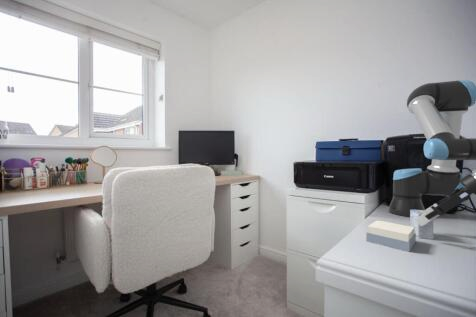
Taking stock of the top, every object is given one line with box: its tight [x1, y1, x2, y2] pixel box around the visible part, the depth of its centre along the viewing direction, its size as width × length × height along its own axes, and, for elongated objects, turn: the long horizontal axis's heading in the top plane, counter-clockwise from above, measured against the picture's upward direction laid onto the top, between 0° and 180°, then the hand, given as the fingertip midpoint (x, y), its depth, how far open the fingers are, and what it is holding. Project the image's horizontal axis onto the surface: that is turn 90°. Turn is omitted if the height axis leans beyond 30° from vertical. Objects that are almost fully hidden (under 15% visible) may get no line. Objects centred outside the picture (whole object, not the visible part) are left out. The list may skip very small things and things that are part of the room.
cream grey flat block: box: [365, 220, 417, 252], centre depth 74 cm, size 12×12×5 cm
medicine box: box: [409, 210, 434, 240], centre depth 81 cm, size 8×4×9 cm, turn 160°
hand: (420, 219), depth 81 cm, fingers open, 13 cm apart
